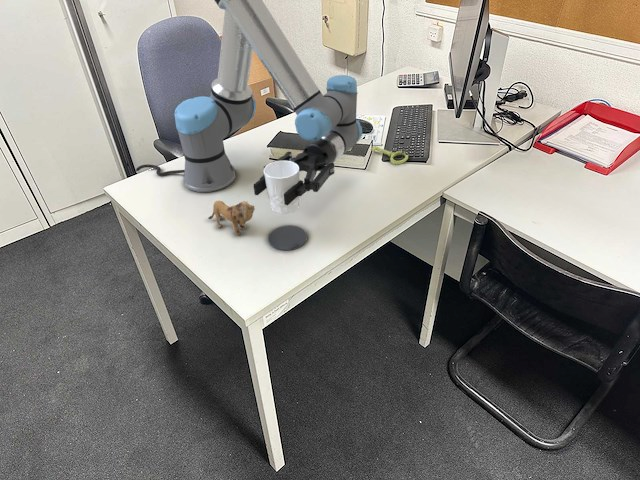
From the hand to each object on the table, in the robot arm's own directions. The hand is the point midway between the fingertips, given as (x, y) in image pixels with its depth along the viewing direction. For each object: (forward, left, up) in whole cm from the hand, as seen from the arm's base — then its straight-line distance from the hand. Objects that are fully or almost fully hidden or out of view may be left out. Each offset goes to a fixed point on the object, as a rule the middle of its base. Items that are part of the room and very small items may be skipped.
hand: (270, 194), depth 94 cm
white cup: (0, +5, -6) cm, 8 cm away
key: (+5, +55, -16) cm, 58 cm away
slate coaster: (0, +5, -15) cm, 16 cm away
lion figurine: (-15, +2, -16) cm, 22 cm away
